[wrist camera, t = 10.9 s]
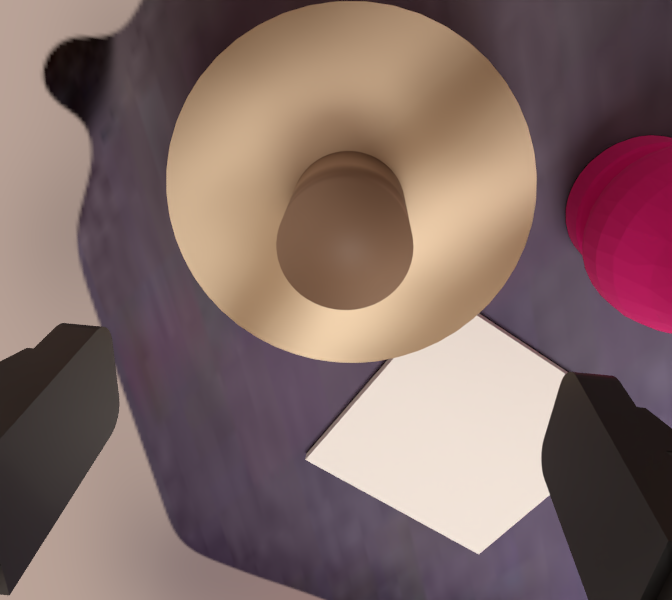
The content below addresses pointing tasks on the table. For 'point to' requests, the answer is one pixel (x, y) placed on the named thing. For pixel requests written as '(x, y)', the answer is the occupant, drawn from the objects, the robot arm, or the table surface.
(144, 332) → the table surface
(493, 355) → the mat
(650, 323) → the pepper mill
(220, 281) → the lid
